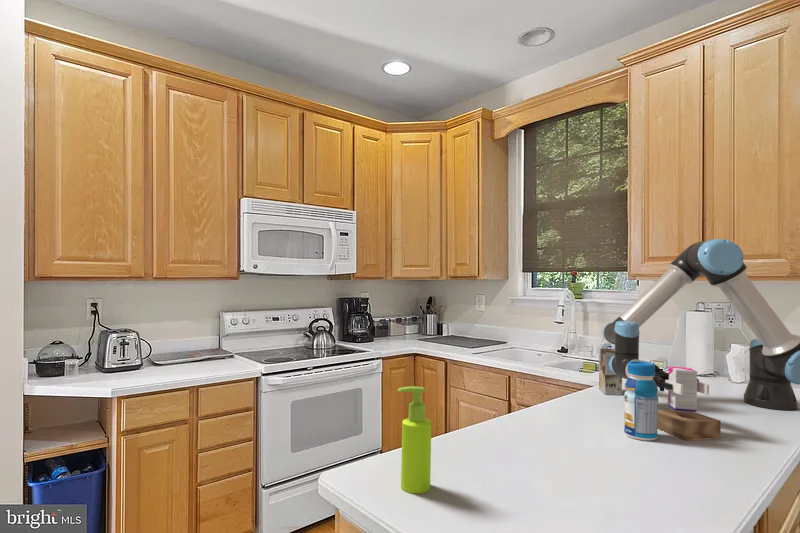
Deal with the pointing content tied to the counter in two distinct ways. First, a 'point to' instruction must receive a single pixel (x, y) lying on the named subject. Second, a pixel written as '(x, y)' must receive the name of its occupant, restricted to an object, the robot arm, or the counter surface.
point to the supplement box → (689, 389)
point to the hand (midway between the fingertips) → (694, 389)
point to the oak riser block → (688, 425)
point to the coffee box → (608, 374)
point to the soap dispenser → (416, 445)
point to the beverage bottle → (641, 402)
